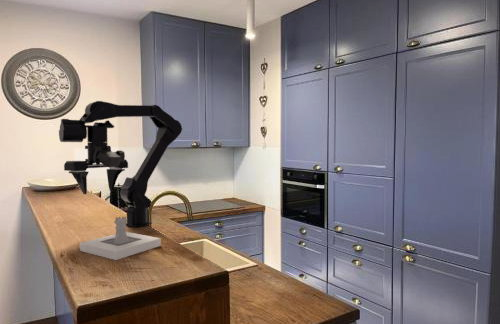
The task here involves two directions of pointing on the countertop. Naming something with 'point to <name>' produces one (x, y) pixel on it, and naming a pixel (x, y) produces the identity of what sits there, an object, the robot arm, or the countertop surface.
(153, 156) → the robot arm
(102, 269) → the countertop surface
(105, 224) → the countertop surface
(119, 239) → the rook chess piece
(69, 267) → the countertop surface
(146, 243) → the socket block
